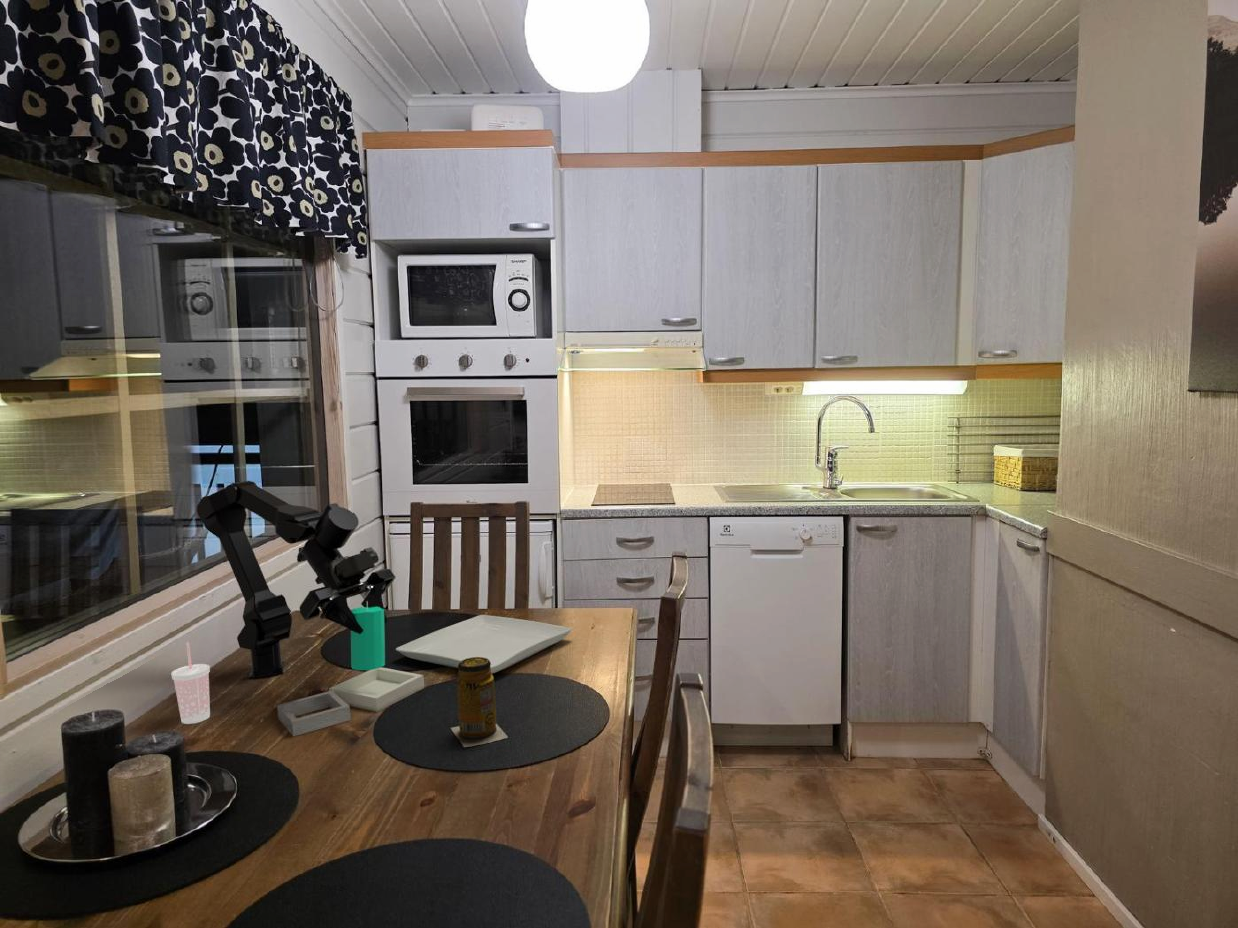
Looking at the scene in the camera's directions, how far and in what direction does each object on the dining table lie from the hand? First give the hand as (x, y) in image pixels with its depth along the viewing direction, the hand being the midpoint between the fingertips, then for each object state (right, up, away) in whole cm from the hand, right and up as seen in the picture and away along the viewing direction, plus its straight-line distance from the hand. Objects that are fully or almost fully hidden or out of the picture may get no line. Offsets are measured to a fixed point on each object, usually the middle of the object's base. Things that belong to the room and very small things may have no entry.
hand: (373, 628), depth 149 cm
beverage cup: (-30, -15, -4) cm, 34 cm away
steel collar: (-8, -15, -7) cm, 18 cm away
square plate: (+17, -11, +24) cm, 31 cm away
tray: (0, -13, +3) cm, 13 cm away
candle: (-1, -7, +1) cm, 7 cm away
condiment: (+22, -14, -16) cm, 31 cm away
